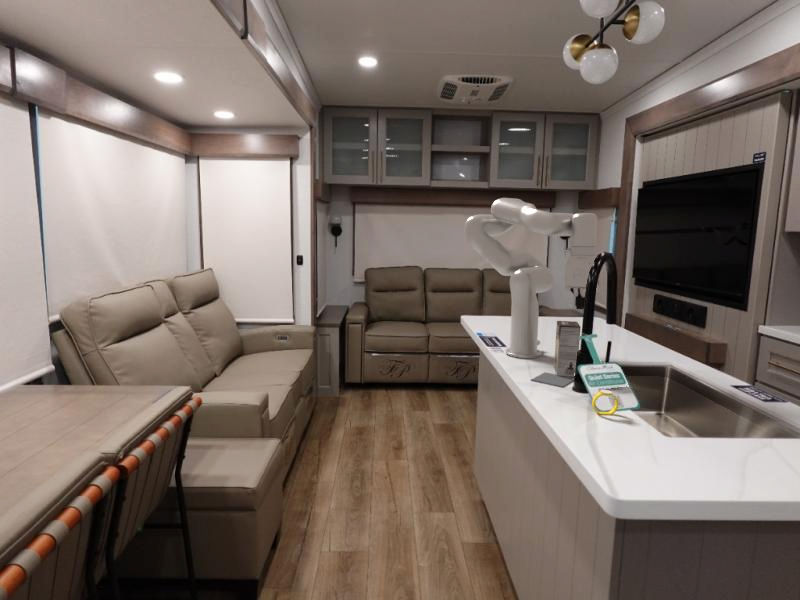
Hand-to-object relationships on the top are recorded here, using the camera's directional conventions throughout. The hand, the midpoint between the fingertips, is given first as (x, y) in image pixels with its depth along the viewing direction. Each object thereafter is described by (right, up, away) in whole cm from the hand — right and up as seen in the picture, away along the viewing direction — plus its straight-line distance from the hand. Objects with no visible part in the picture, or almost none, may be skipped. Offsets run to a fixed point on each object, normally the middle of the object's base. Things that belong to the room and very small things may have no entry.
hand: (580, 308), depth 161 cm
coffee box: (-6, -21, -3) cm, 22 cm away
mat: (-12, -22, -10) cm, 27 cm away
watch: (-8, -26, -37) cm, 46 cm away
